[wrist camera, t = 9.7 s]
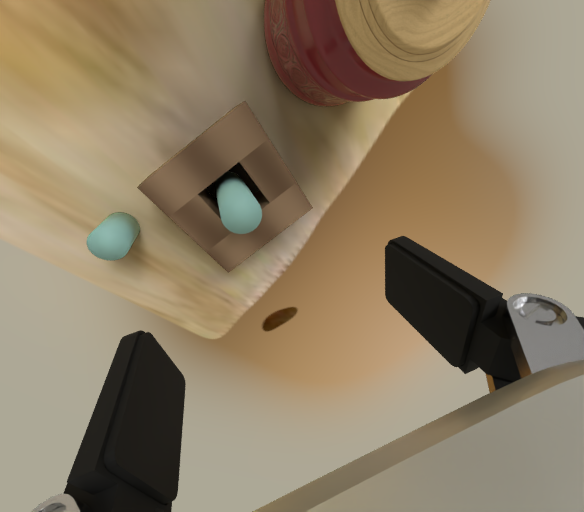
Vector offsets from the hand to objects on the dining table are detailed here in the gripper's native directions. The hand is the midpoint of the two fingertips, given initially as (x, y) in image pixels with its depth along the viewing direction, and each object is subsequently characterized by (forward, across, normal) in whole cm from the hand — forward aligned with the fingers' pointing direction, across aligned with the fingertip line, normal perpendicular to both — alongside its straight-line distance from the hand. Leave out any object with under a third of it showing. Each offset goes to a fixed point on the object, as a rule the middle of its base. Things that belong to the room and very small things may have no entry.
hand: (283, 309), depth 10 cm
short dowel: (+24, +13, +2) cm, 27 cm away
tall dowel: (+24, 0, 0) cm, 24 cm away
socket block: (+24, 0, 0) cm, 24 cm away
